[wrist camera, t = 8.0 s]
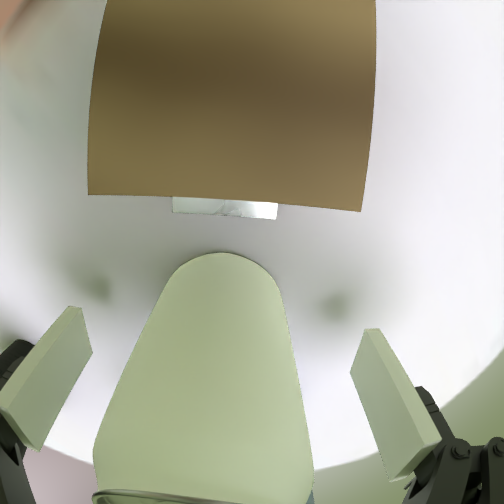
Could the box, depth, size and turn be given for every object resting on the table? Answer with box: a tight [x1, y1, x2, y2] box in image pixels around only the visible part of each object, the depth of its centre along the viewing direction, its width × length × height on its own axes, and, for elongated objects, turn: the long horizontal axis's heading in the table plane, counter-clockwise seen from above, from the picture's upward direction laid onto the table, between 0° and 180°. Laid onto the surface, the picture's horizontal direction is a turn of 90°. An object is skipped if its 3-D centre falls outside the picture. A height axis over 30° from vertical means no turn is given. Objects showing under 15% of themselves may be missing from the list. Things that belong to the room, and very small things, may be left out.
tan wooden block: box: [87, 0, 376, 212], centre depth 9 cm, size 8×8×6 cm
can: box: [92, 253, 314, 504], centre depth 10 cm, size 6×6×12 cm
